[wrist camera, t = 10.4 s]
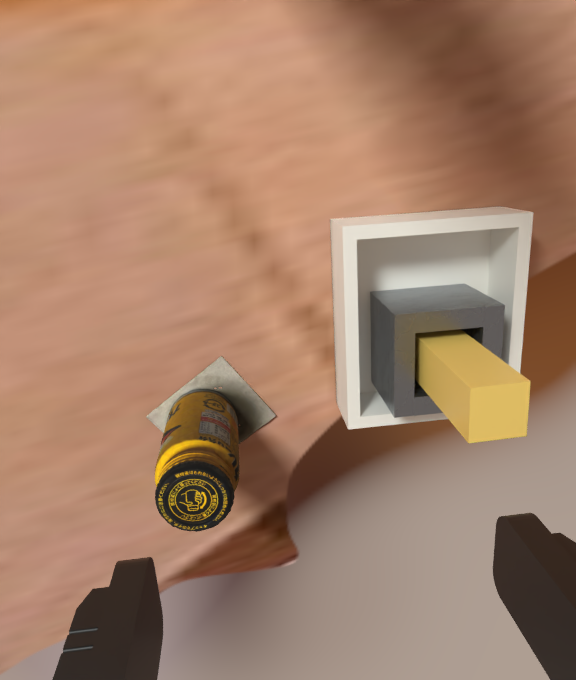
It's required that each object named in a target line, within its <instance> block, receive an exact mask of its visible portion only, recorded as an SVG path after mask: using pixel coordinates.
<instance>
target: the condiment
mask: <svg viewBox="0 0 576 680" xmlns="http://www.w3.org/2000/svg"><path fill="white" fill-rule="evenodd" d="M214 387H216V388H217V389H214ZM219 387H222V389H219ZM275 416H276V415H275V414H274V413H273V412H272V411H271V410H270V408H269V407H268V406H267V405H266V404H265V403H264V402H263V400H262V399H261V398H260V397H259V396H258V395H257V394H256V393H255V392H254V391H253V389H252V388H251V387H250V386H249V385H248V384H247V383H246V382H245V381H244V380H243V379H242V378H241V377H240V376H239V375H238V373H237V372H236V371H235V370H234V369H233V368H232V367H231V366H230V365H229V364H228V363H227V362H226V361H225V360H224V358H223V357H222V356H221V357H219V358H218V359H217V360H216V361H215V362H213V363H212V364H211V365H209V366H208V367H207V368H206V369H205V370H204V371H202V372H201V373H200V374H199V375H197V376H196V377H195V378H194V379H192V380H191V381H190V382H189V383H187V384H186V385H185V386H183V387H182V388H181V389H179V390H178V391H177V392H176V393H174V394H173V395H172V396H171V397H169V398H168V399H167V400H166V401H165V402H163V403H162V404H161V405H160V406H159V407H157V408H156V409H155V410H153V411H152V412H151V413H150V414H149V415H148V416H147V418H148V419H149V420H150V421H151V422H152V423H153V424H154V425H155V426H156V427H158V429H159V430H161V431H162V432H163V433H164V434H163V439H162V442H161V447H160V452H159V456H158V459H157V464H156V469H155V483H156V486H157V489H156V493H155V495H156V496H155V500H156V505H157V509H158V511H159V513H160V514H161V516H162V517H163V518H164V519H165V520H166V521H167V522H168V523H169V524H171V525H172V526H173V527H177V528H179V529H181V530H187V531H201V530H205V529H209V528H212V527H214V526H216V525H218V524H219V523H220V522H221V521H222V520H223V519H224V518H225V517H226V516H227V515H228V513H229V512H230V511H231V507H232V505H233V500H234V491H235V489H236V487H237V484H238V480H239V444H240V443H241V442H242V441H244V440H245V439H247V438H248V437H249V436H250V435H251V434H253V433H254V432H255V431H256V430H258V429H259V428H260V427H262V426H263V425H265V424H266V423H268V422H269V421H270V420H271V419H273V418H274V417H275ZM239 425H240V426H239Z"/></svg>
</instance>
